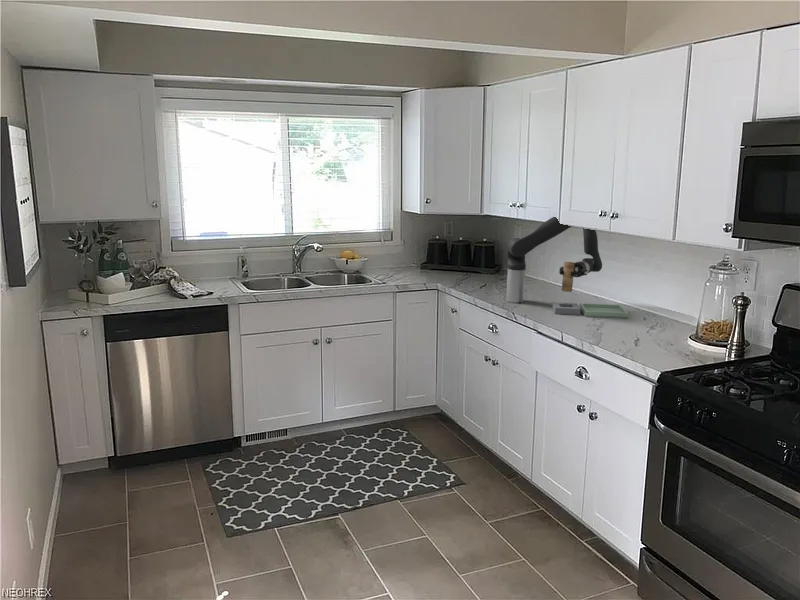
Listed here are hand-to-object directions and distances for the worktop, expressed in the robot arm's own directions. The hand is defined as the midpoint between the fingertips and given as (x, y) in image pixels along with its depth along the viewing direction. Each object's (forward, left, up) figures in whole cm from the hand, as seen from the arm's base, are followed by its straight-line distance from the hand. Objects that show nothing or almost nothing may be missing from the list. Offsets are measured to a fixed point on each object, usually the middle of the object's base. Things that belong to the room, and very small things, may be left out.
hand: (566, 273), depth 319 cm
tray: (-2, +19, -20) cm, 28 cm away
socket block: (-2, +1, -20) cm, 20 cm away
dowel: (-2, +1, -9) cm, 9 cm away
